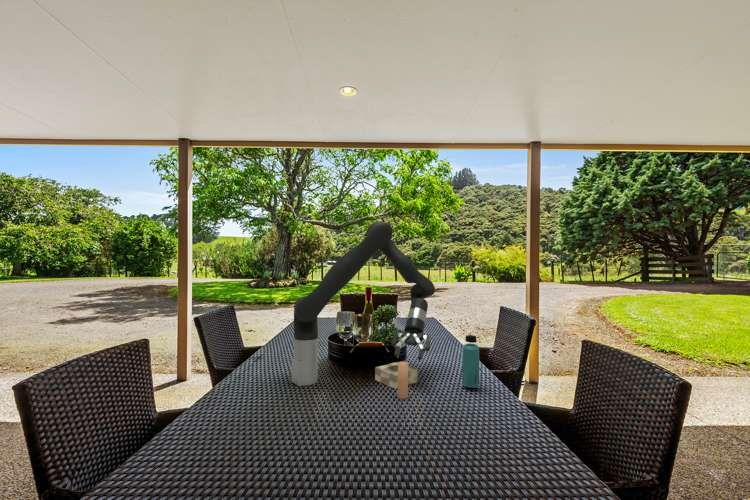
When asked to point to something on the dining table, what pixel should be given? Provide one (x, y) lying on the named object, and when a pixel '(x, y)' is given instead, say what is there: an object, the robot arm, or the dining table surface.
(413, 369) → the socket
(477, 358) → the beverage bottle
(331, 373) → the dining table surface
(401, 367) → the peg
